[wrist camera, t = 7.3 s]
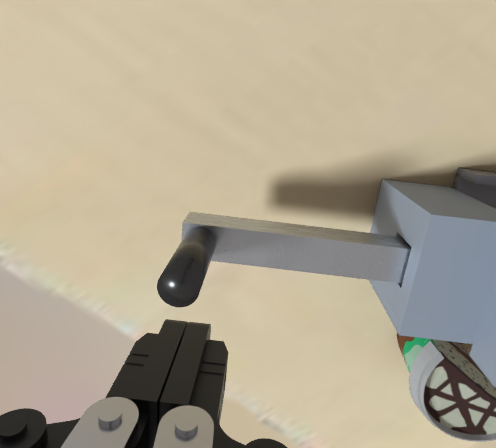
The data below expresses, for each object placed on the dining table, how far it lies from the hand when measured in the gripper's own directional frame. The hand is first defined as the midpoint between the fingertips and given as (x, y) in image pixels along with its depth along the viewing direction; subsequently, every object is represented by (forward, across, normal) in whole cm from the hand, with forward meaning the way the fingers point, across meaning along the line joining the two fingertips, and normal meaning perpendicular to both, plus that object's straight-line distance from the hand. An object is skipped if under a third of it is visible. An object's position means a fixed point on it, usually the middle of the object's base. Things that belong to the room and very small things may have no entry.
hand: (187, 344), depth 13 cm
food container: (+29, -22, +18) cm, 41 cm away
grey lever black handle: (+21, -8, +4) cm, 23 cm away
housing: (+29, -17, +4) cm, 34 cm away
